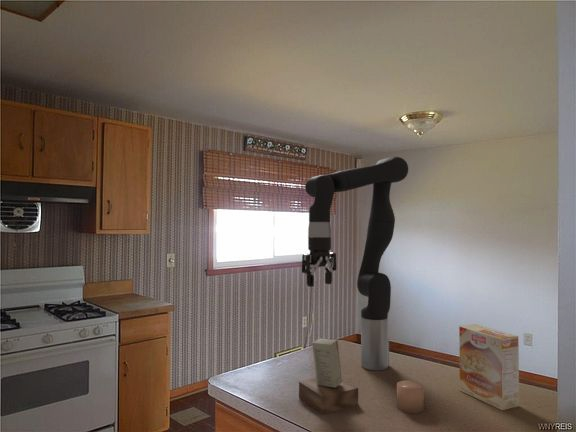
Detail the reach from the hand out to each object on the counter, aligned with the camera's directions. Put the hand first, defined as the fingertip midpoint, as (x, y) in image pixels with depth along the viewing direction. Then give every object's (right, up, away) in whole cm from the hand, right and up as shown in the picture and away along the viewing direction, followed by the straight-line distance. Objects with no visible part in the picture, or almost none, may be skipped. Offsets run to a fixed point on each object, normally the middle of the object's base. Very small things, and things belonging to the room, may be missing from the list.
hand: (319, 285), depth 136 cm
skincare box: (+1, -25, -19) cm, 31 cm away
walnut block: (+1, -30, -19) cm, 36 cm away
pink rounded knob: (+23, -30, -23) cm, 44 cm away
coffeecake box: (+47, -30, -17) cm, 59 cm away
